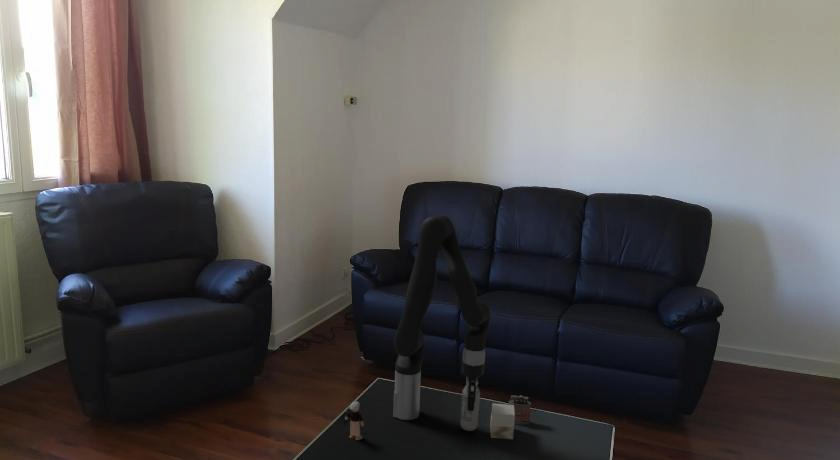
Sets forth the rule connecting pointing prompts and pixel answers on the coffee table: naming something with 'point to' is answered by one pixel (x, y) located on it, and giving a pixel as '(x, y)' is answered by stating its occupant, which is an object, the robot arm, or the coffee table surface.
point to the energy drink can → (469, 417)
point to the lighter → (521, 409)
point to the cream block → (503, 415)
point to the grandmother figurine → (355, 421)
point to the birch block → (501, 431)
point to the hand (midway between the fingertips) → (470, 405)
